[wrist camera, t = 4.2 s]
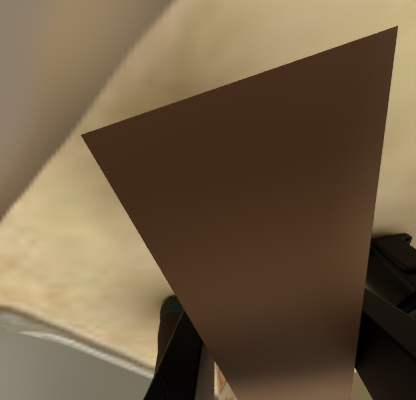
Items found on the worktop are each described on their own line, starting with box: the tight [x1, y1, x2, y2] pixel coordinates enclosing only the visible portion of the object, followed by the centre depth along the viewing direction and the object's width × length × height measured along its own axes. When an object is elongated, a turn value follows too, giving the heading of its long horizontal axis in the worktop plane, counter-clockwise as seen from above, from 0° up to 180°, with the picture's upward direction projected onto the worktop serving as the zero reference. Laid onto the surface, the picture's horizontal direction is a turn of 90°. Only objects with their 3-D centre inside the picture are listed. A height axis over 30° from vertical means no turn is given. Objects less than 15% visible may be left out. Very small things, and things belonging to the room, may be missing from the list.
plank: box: [81, 26, 398, 400], centre depth 7 cm, size 14×4×4 cm, turn 17°
